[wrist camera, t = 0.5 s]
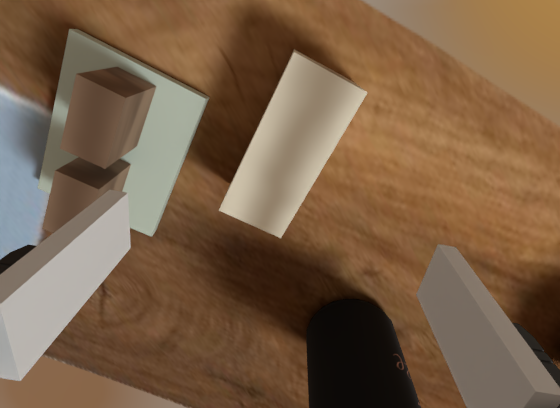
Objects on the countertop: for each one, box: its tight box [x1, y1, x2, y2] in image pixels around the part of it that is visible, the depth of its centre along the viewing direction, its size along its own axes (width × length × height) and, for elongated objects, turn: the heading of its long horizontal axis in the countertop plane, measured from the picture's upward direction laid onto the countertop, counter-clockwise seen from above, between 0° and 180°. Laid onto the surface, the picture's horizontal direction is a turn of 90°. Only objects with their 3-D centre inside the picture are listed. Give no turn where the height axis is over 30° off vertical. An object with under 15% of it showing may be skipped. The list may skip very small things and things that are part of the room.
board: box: [38, 29, 209, 237], centre depth 32 cm, size 12×16×1 cm
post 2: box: [42, 157, 131, 233], centre depth 31 cm, size 4×6×6 cm, turn 153°
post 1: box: [60, 67, 157, 169], centre depth 27 cm, size 4×6×6 cm, turn 153°
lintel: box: [219, 49, 367, 238], centre depth 30 cm, size 6×14×6 cm, turn 154°
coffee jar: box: [306, 299, 421, 408], centre depth 35 cm, size 11×11×18 cm
